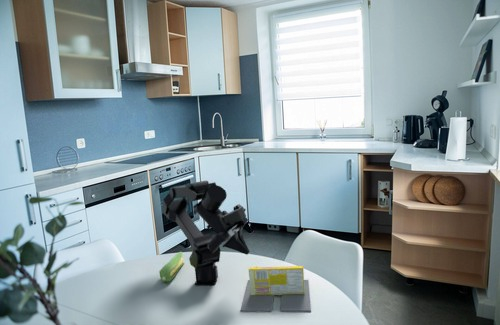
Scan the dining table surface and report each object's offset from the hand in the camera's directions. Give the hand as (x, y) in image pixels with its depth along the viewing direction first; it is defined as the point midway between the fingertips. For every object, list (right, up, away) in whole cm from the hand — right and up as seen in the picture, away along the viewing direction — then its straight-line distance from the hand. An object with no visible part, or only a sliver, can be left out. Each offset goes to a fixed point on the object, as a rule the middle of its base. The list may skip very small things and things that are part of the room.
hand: (248, 253), depth 111 cm
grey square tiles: (+9, -12, -1) cm, 15 cm away
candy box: (+9, -12, -1) cm, 15 cm away
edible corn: (-26, -12, +20) cm, 35 cm away
